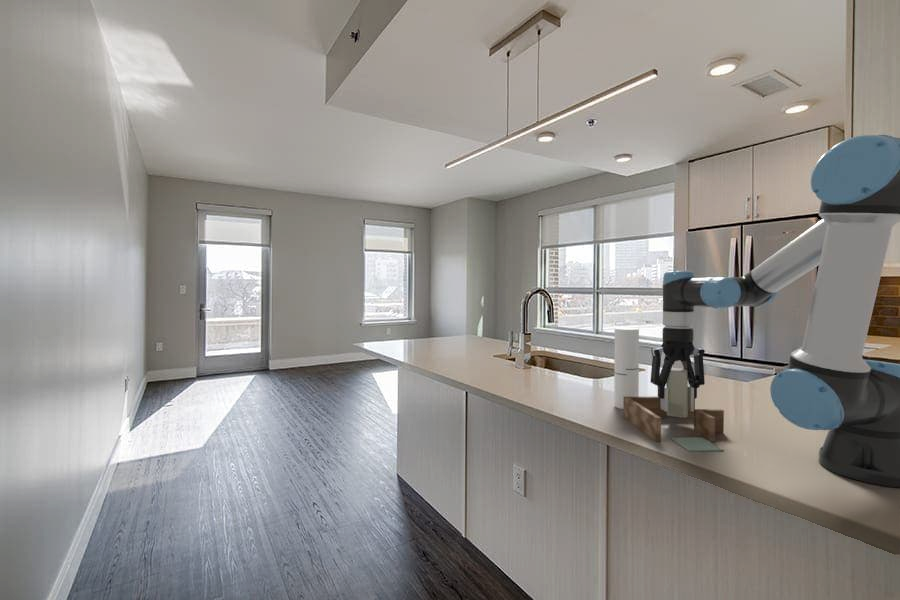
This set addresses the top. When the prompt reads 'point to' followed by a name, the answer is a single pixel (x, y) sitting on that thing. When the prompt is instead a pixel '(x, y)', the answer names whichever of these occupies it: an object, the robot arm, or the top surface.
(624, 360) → the cylindrical container
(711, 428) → the wooden u-shaped enclosure
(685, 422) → the top surface
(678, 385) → the box
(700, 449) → the pad
